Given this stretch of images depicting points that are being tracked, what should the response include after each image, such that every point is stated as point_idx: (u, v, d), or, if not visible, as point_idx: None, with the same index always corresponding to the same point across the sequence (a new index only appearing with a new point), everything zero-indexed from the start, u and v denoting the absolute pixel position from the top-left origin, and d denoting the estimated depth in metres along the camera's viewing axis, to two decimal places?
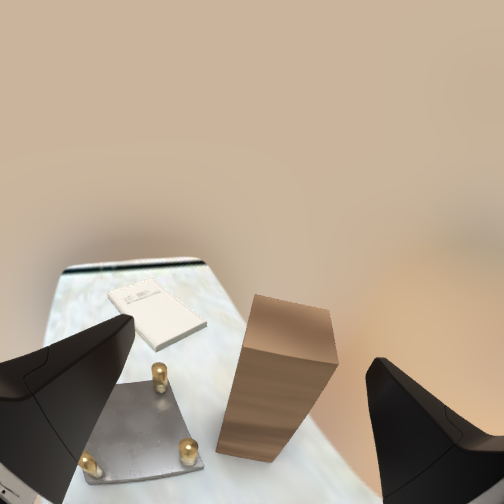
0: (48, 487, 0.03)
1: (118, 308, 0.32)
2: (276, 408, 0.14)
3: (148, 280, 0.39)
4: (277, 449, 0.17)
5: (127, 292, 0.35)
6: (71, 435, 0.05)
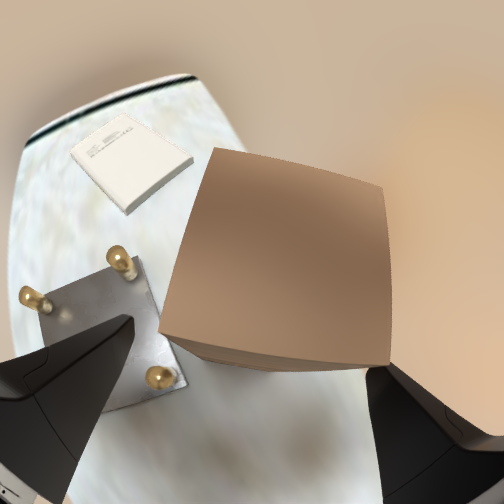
0: (48, 487, 0.03)
1: (82, 166, 0.23)
2: (266, 365, 0.09)
3: (118, 117, 0.26)
4: None
5: (91, 141, 0.24)
6: (71, 435, 0.05)
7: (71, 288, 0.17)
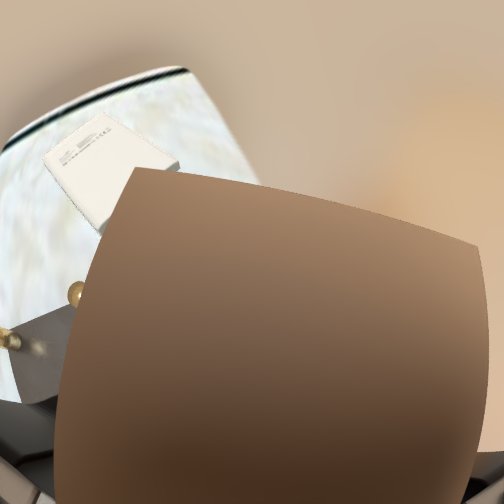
0: None
1: (54, 177, 0.19)
2: None
3: (96, 117, 0.21)
4: None
5: (65, 147, 0.19)
6: None
7: (39, 323, 0.13)
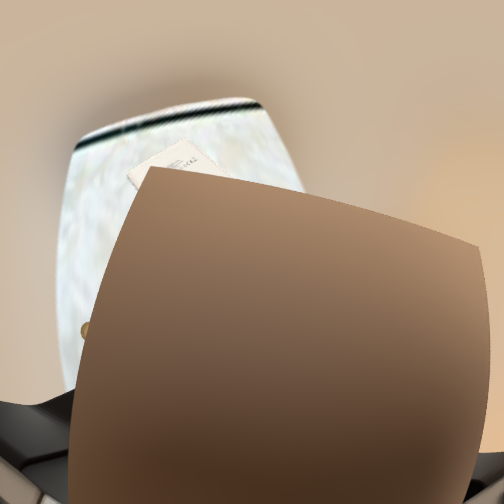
0: None
1: None
2: None
3: (180, 142, 0.28)
4: None
5: None
6: None
7: None
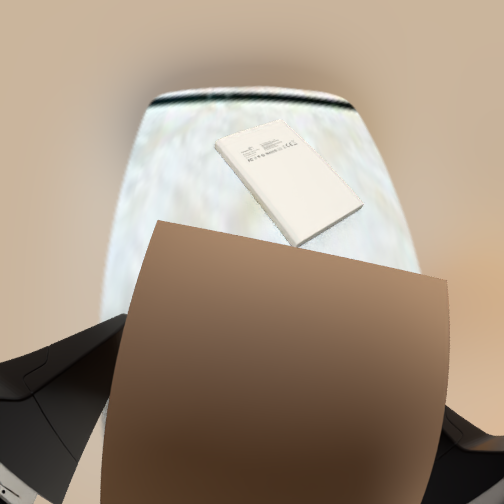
0: (48, 487, 0.03)
1: (234, 167, 0.23)
2: None
3: (276, 122, 0.26)
4: None
5: (246, 140, 0.24)
6: (71, 435, 0.05)
7: None
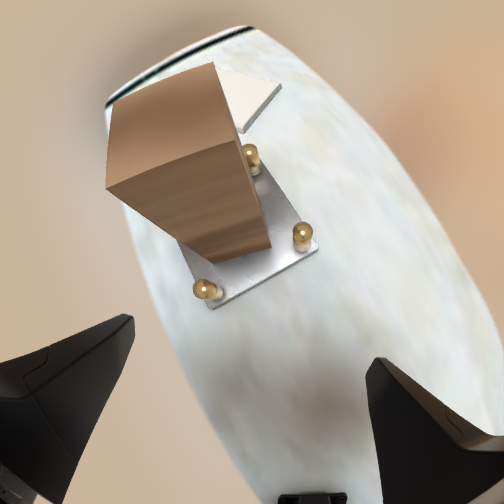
0: (48, 487, 0.03)
1: None
2: (215, 211, 0.13)
3: None
4: (263, 237, 0.19)
5: None
6: (71, 435, 0.05)
7: None
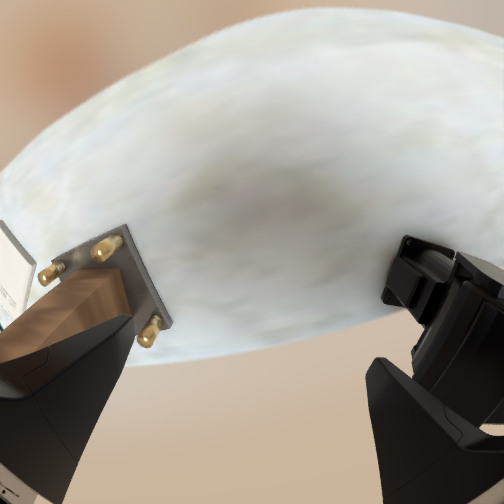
0: (48, 487, 0.03)
1: (23, 309, 0.25)
2: None
3: None
4: (103, 288, 0.19)
5: (9, 307, 0.25)
6: (71, 435, 0.05)
7: None
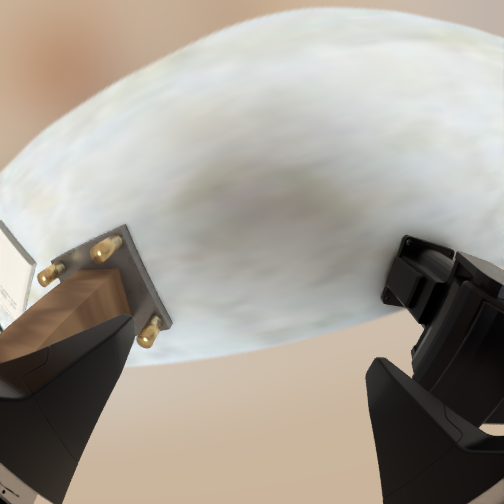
0: (48, 487, 0.03)
1: (23, 310, 0.25)
2: None
3: None
4: (102, 288, 0.19)
5: (9, 308, 0.25)
6: (71, 435, 0.05)
7: None
